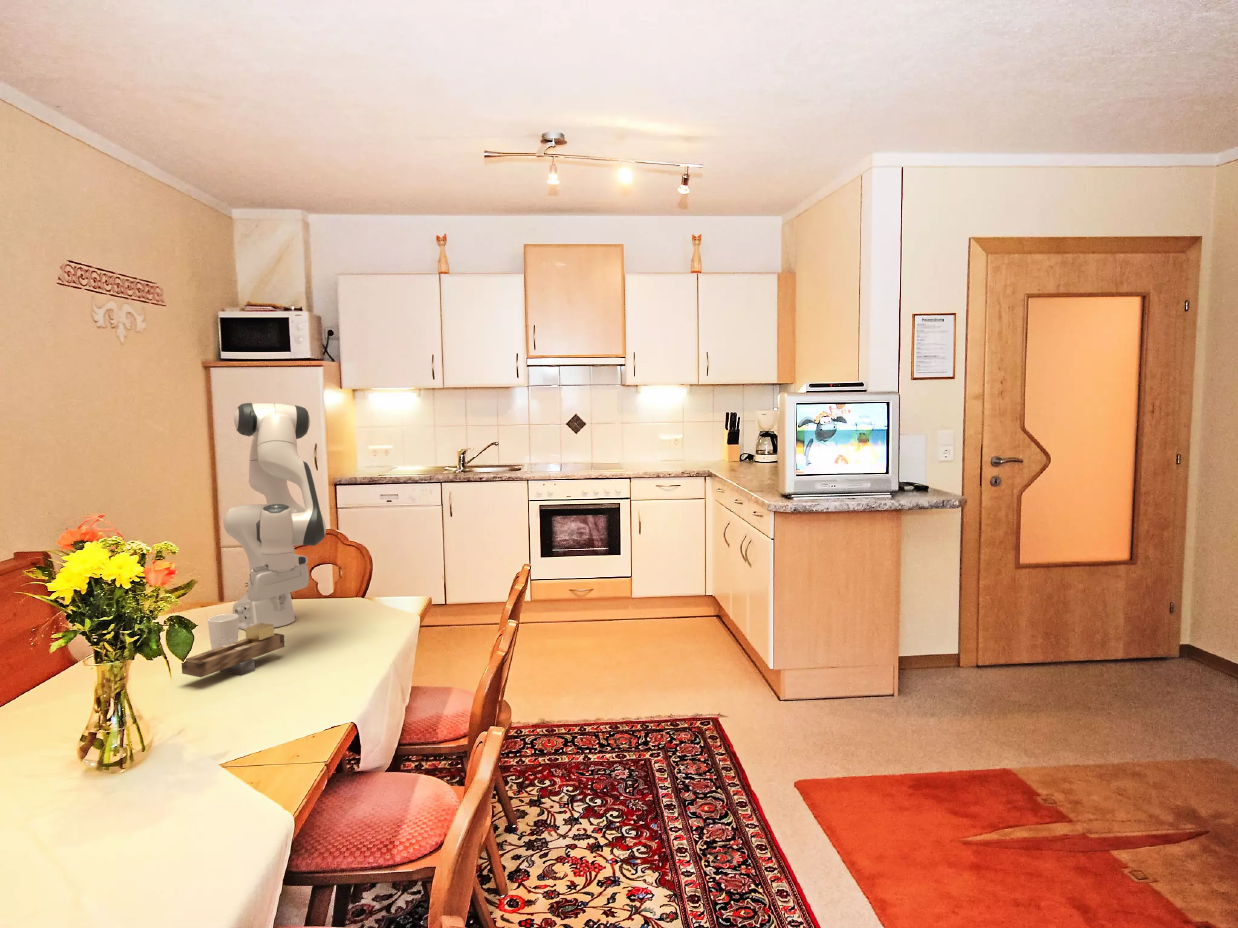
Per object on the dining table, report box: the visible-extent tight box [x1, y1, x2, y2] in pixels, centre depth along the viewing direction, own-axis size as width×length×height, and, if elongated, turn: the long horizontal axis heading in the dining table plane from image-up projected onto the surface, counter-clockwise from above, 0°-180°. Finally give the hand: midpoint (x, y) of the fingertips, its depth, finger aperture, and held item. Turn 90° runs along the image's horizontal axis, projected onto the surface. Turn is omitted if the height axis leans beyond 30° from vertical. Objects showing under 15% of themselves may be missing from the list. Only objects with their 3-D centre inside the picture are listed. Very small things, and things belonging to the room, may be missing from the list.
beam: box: [181, 632, 286, 678], centre depth 205 cm, size 26×9×7 cm, turn 156°
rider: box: [245, 623, 275, 643], centre depth 212 cm, size 5×5×5 cm
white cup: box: [207, 613, 240, 650], centre depth 221 cm, size 8×8×10 cm
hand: (279, 610), depth 218 cm, fingers closed
